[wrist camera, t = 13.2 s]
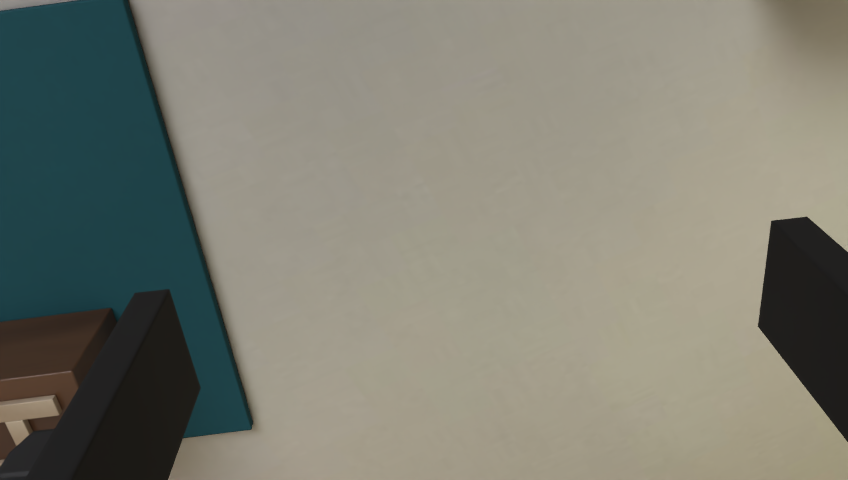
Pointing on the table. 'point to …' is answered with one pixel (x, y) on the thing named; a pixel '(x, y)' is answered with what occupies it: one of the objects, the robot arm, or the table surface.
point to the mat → (100, 190)
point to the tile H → (45, 369)
